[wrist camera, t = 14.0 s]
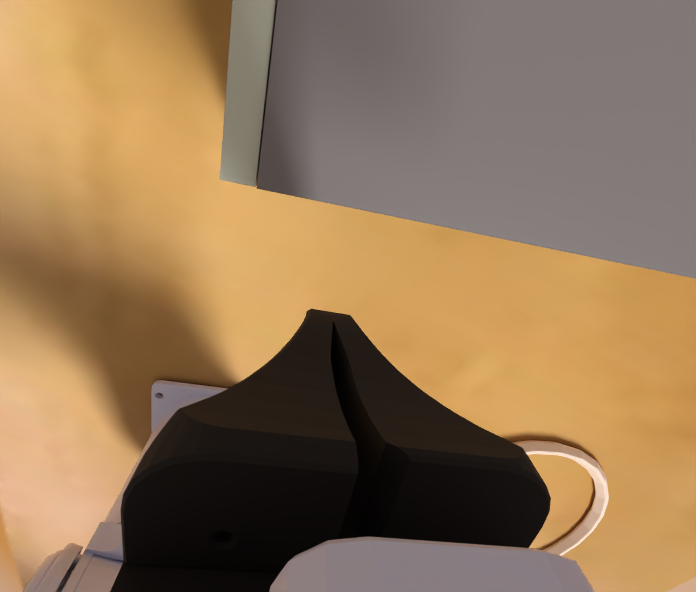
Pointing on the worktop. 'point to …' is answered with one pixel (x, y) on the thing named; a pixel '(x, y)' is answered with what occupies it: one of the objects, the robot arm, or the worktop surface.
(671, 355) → the worktop surface
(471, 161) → the block
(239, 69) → the drawer tray
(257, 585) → the robot arm
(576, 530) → the hand towel holder
